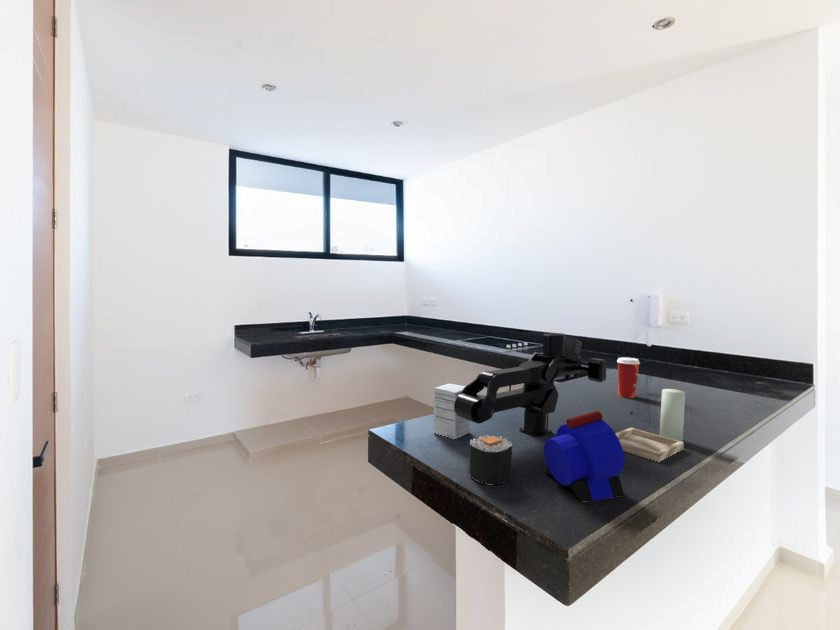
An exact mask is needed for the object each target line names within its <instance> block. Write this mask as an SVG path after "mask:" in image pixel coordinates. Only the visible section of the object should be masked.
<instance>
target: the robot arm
mask: <svg viewBox="0 0 840 630" xmlns="http://www.w3.org/2000/svg"><path fill="white" fill-rule="evenodd" d="M582 347H583V343H582V341H580V340H578V339H577V338H573V337H566V333H563V332H544V333H543V335H542V352H534V353H533V354H532V355H531V356H530V357H529V358H528V360H527V361H524V362H522V363H520V365H519V366H516V367H508V368H503V369H502V368H501V369H495V370H490V371H489V370H488V371H487V370H484V371H481V372H480V373H478V375H477V376H476V378H475V379H474V380H472V381H471V382H470V383H469V384H467V385H465V386H466V387H465V388H464V389H463V390H462V392H461V393H460V394H459V395H458V396H457V399H456V401H455V403H454V411H455V413H456V415H457V416H459V417H462V418H464V419H467V420H470V422H472V423H475V424H483V423H485V422H487V421H489V420H491V419H492V418H493V416H494V414H495V413H499V412H504V411H507V410H508V411H509V410H513V409H518V408H522V409H524V415H523V427H519V429H518V430H519V431H520V432H523V433H526V434H528V435H532V436H534V437H536V438H537V437H538V438H539V437H542V436H546V435H548V434H551V433H553V430H552V429H550V428H549V415H550V414H551V413H555V411H556V407H557V403H558V400H559V391H558V390H557V387H556V385H555V381H556V380H562V379H565V380H571V379H572V378H577V379H578V378H580V373H581V372H582V371H584V372H585V371H586V372H587V378H588V380H589V381H592V382H596V383H605V381H607V367H608V366H607V363H608V362H607V361H606V359H601V358H596V357H595V358H594V357H593V358H589V361H582V357H581V356H580V353H581V349H582ZM521 384H522V385H523V386H522V387H521V388H515V389H512V390H507V391H501V392H498V391H499V389H500V388H506V387H510V386H516V385H521ZM484 389H486V394H479V393H480V392H481V391H483V390H484Z"/></svg>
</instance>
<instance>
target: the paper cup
mask: <svg viewBox="0 0 840 630" xmlns="http://www.w3.org/2000/svg"><path fill="white" fill-rule="evenodd" d="M616 362H617V392H618V397H620V398H624V399H625V398H626V399H635V398H636V394H637V393H636V392H637V386H638V384H637V383H638V375H639V368H640V367H639V366H640V364H641V362H640V360H639V359H638V358H635V357H624V356H623V357H618V358H617V360H616Z"/></svg>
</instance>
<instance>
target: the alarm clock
mask: <svg viewBox="0 0 840 630" xmlns="http://www.w3.org/2000/svg"><path fill="white" fill-rule="evenodd" d="M615 433H616V432H615V431H614V429H613V428H612V427H611V426H610V425H609V424H608V423H607V422H606V421H604V420H603V414H602V412H601V411H600V410H595V411H591V412H588V413H584V414H580V415H577V416H574V417H570V418H567V419H566V424H562V425H560V426H559V427H558V429H557V431H556V434H555V436H554V437H550V438H549V439H546V440H545V441H544V444H543V456H544V460H545V463H546V466H547V468H548V469H547V470H546V473H545V475H546V476H547V475H548V476H549V475H551V476H552V477H553V479H555V481H557V483H559V484H560V485H562V486H569V488H571V490H572V491H573V492H574V494H575V496H576V497H577V498H578V500H579V501H580V500H581V501H592V500H598V501H600V500H599V499H604V500H606V499H605V498H610V497H617V496H624V497H625V492H624V490H623V487H622V483H621V479H620V476H619V475H621V474H623V471H624V468H625V455H624V451H623V449H622V446H621V444H620V441H619V439H618V437H617V436H616V434H615ZM617 498H618V497H617ZM581 501H580V502H581ZM592 502H593V501H592Z"/></svg>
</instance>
